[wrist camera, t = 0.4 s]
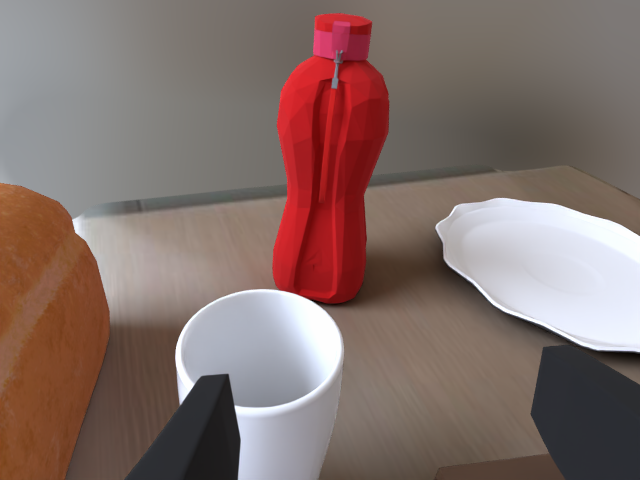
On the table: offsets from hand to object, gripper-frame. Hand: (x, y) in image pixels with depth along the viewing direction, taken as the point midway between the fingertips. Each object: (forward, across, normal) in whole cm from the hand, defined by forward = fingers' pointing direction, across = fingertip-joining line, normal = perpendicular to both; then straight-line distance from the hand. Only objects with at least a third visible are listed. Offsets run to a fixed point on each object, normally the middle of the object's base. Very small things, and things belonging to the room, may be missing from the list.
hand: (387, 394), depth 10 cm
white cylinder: (+9, +6, +18) cm, 21 cm away
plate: (+35, -28, +18) cm, 48 cm away
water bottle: (+31, +1, +15) cm, 35 cm away
